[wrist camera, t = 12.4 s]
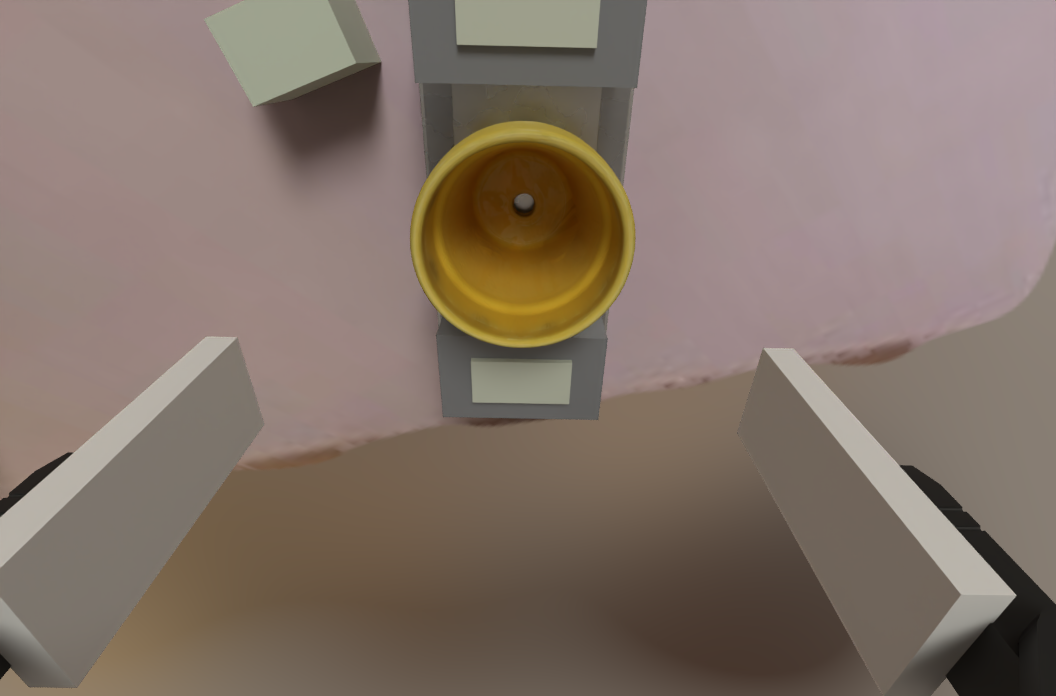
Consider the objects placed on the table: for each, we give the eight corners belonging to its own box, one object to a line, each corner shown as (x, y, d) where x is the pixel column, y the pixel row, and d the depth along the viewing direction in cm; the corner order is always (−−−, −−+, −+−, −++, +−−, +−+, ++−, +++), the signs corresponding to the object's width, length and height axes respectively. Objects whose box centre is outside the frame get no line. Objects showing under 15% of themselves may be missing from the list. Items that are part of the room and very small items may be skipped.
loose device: (292, 99, 30) (253, 106, 26) (253, 24, 28) (203, 19, 24) (381, 61, 29) (356, 63, 25) (347, -19, 27) (313, -32, 23)
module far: (455, 366, 37) (442, 420, 32) (450, 292, 34) (435, 338, 29) (588, 369, 37) (598, 423, 32) (595, 295, 34) (608, 342, 29)
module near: (436, 77, 28) (413, 83, 22) (427, -61, 25) (398, -95, 19) (616, 81, 28) (638, 88, 22) (630, -56, 25) (659, -88, 19)
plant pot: (629, 240, 32) (664, 306, 24) (486, 298, 34) (471, 378, 26) (571, 73, 27) (590, 81, 19) (409, 153, 30) (361, 192, 21)
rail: (446, 358, 39) (442, 372, 37) (414, -66, 26) (406, -75, 24) (598, 360, 39) (601, 375, 37) (644, -60, 26) (652, -69, 24)
